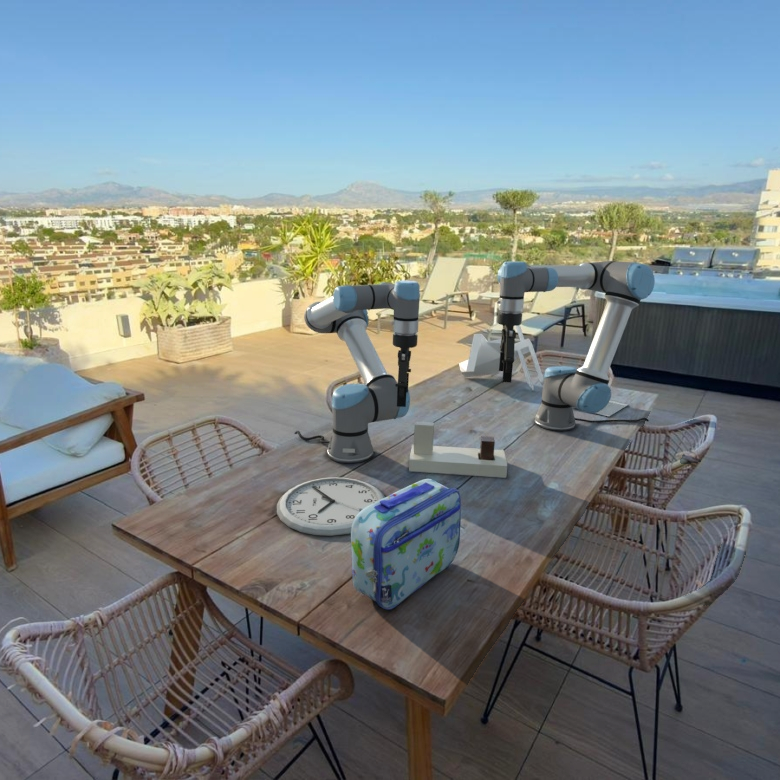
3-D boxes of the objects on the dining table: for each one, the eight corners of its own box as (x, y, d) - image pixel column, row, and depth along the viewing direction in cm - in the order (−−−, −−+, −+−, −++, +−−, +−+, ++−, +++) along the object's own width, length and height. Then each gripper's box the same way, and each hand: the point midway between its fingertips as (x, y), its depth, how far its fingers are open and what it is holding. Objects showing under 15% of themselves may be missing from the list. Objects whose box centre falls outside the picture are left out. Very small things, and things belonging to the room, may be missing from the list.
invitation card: (608, 416, 214) (573, 407, 224) (608, 416, 214) (573, 408, 224) (628, 404, 229) (594, 396, 238) (628, 405, 229) (594, 397, 238)
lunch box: (380, 623, 100) (381, 528, 94) (344, 596, 108) (343, 505, 101) (464, 565, 118) (470, 482, 112) (428, 545, 125) (432, 466, 119)
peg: (491, 465, 168) (493, 436, 165) (492, 471, 165) (494, 441, 162) (479, 464, 169) (481, 436, 166) (479, 470, 165) (481, 440, 162)
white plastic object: (480, 419, 265) (459, 396, 241) (461, 346, 287) (441, 319, 263) (551, 395, 253) (536, 368, 228) (526, 321, 275) (510, 290, 251)
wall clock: (392, 527, 129) (268, 531, 127) (391, 533, 130) (269, 537, 127) (383, 473, 158) (282, 475, 155) (383, 478, 158) (282, 480, 156)
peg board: (502, 461, 172) (506, 421, 168) (506, 477, 160) (510, 435, 156) (411, 455, 175) (413, 416, 171) (408, 471, 164) (410, 429, 159)
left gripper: (395, 324, 171) (393, 385, 178) (389, 342, 147) (387, 412, 154) (418, 325, 170) (415, 387, 177) (416, 343, 147) (412, 413, 153)
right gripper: (495, 305, 177) (490, 366, 184) (501, 317, 154) (495, 386, 160) (517, 306, 176) (512, 367, 183) (527, 318, 153) (520, 388, 159)
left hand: (402, 398), depth 166 cm, fingers open, 13 cm apart
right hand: (504, 376), depth 171 cm, fingers open, 13 cm apart
